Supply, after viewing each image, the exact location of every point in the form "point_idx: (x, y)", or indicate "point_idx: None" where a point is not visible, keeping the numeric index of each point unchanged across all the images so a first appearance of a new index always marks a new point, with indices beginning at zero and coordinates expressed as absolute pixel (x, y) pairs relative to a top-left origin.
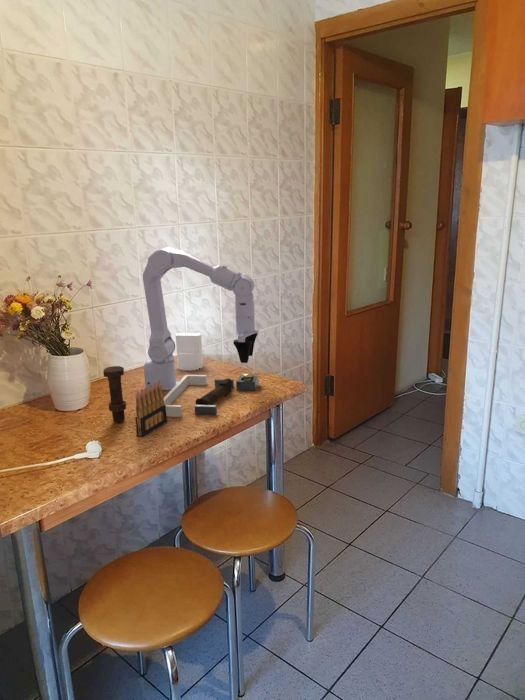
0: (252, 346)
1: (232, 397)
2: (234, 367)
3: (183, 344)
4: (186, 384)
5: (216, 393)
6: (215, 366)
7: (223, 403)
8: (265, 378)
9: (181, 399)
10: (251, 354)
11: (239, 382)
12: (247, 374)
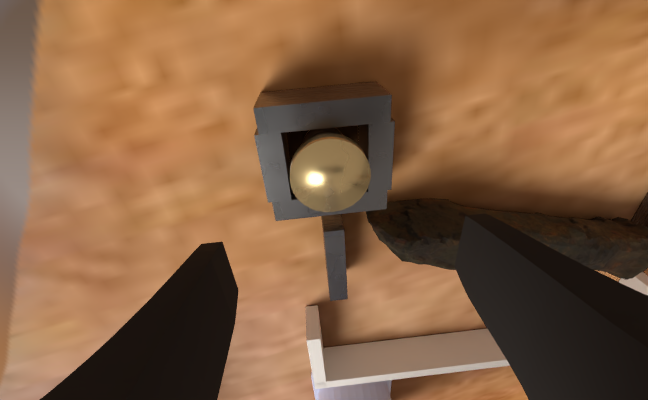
0: (176, 334)
1: (470, 171)
2: (36, 288)
3: None
4: (346, 352)
5: (566, 236)
6: (77, 348)
7: (541, 185)
8: (122, 79)
9: (470, 317)
10: (219, 255)
11: (385, 189)
12: (338, 174)
